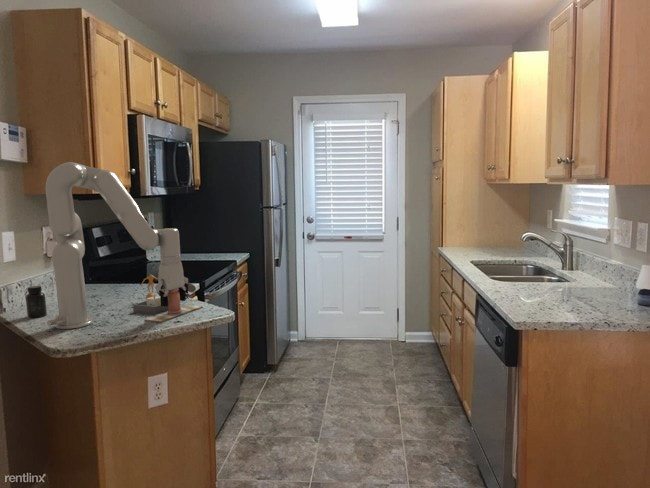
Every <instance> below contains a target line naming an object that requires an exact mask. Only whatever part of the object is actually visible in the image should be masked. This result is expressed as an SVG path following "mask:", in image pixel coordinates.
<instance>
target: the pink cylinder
mask: <svg viewBox="0 0 650 488" xmlns="http://www.w3.org/2000/svg"><path fill="white" fill-rule="evenodd" d="M167 296H168V311H167V312H168V314H179V313H181V312H182V310H181V307H182V306H181V301H180V294H179V292H178V288H176V289H173V290H170V291H168V293H167Z"/></svg>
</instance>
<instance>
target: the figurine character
mask: <svg viewBox="0 0 650 488" xmlns="http://www.w3.org/2000/svg"><path fill="white" fill-rule="evenodd" d="M196 290H197V289H196V286H195V285H194V284H193V283H191V282H188V283H187V287H186V291H185V297H191V294H190V293H194V292H196ZM178 291H180V290H179V289H178ZM164 292H165V291H164ZM166 296H167V295H166Z"/></svg>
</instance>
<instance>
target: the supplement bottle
mask: <svg viewBox="0 0 650 488" xmlns="http://www.w3.org/2000/svg"><path fill="white" fill-rule="evenodd" d="M42 290H43V289H42V286H41V285H33V286H28V287H27V294H26V295H25V304H26V305H25V306H26V313H27V315H26V316H27V318H29V319H39V318H44V317H46V316H47V314H48V311H47V302H46V294H45V293H44V292H42Z"/></svg>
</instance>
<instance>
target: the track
mask: <svg viewBox="0 0 650 488" xmlns="http://www.w3.org/2000/svg"><path fill="white" fill-rule="evenodd" d="M180 307H181V310H182V312H181V313H179V314H168V311H165V312H162V313H159V314H156V315H155V316H151V317H148V318H146V319H144V321H143V322H151V323H161V324H162V323H164V322H167V321H169V320H172V319H176V318H178V317H181V316H184V315H187V314H189V313H192V312H195V311H198V310H200V309H203V308H204V307H203V306H199V305H191V304H187V305H184V306H180Z"/></svg>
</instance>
